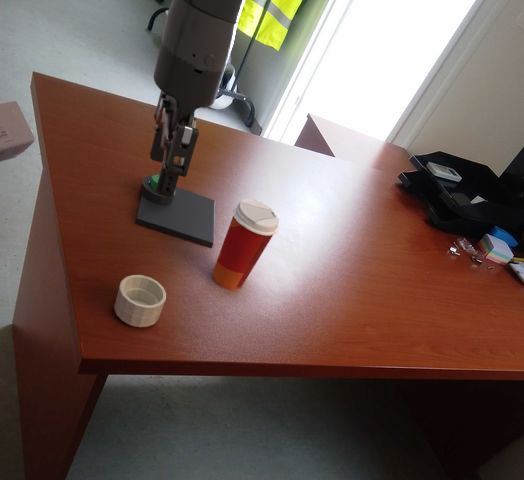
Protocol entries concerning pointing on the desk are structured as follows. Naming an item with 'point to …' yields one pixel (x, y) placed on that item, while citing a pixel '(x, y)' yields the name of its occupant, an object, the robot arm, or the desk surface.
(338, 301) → the desk surface
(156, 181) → the button
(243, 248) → the paper cup
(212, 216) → the scale
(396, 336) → the desk surface
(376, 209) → the desk surface
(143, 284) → the bowl
